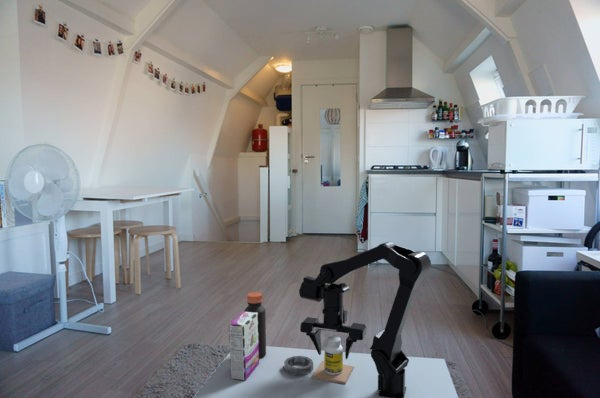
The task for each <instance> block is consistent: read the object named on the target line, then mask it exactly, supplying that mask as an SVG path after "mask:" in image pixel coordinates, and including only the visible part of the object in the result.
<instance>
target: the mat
mask: <svg viewBox="0 0 600 398" xmlns="http://www.w3.org/2000/svg"><path fill="white" fill-rule="evenodd" d="M354 369H355V366H353V365H350V364H344V363H343V371H342V373H340V374H338V375H331V374H328V373H326V372H325V368H324V361H323V360H322V361H321V362H320V364H319V365H318V366H317V368H316V369H315V370H314V371H313V373H312V375H311V379H315V380H322V381H327V382H333V383H338V384H344V385H346V384H347V382H348V380H349V378H350V376H351V374H352V372H353V371H354Z"/></svg>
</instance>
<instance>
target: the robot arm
mask: <svg viewBox="0 0 600 398" xmlns="http://www.w3.org/2000/svg"><path fill="white" fill-rule="evenodd" d="M382 260H384V261H386V262H387V263H388V264H389V265H391V266H392V267H393V268H395V269H397V270H398V280H399V281H398V283H399V284H398V288H397V290H396V294H395V297H394V299H393V302H392V306H391V309H390V312H389V314H388V317H387V321H386V323H385V328H383V329H381V330H380V331H379V332H378V333H377V334H375V335H374V336H373V339H372V345H371V346H370V347H369V350H371V351H370V357H371V358H372V361H373V362H374V365H375V368H376V371H377V374H378V375H377V390H378V396H379V397H383V398H405V395H406V392H407V386H406V369H405V368H406V367H407V366H408V364H409V363H410V360H409V358H408V357H407V356H406V354H405V353H404V352H403V350H402V345H403V340H402V332H403V329H404V327H405V325H406V320H407V317H408V314H409V311H410V309H411V306H412V304H413V300H414V297H415V294H416V291H417V288H418V287H419V285H421V282H423V280H424V278H425V277H426V276H427V273H428V272H429V270H430V269H431V266H432V260H431V259H430V257H429V255H427V253H425V252H424V251H420V250H419V251H418V250H417V251H415V250H413V249H411V248H407V247H404V246H401V245H398V244H396V243H393V242H391V241H385V242H382V243H380V244H378V245H377V246H375V247H372V248H370V249H368V250H366V251H364V252H361V253H358V254H355V255H354V256H351V257H349V258H342V259H341V258H340V259H337V260H333V261H331V262H327V263H325V264H322V265H321V266H320V270H319V274H318V275H317V277H316V278H315V277H312V276H304V277H303V280H302V282H301V284H300V286H299V287H300V288H299V290H298V291H299V297H300V298H301V299H302V300H303V299H304V300H306V301H307V300H308V301H312V302H317V303H320V302H321V301H322V303H323V304H322V305H323V308H322V310H321V311H322V312H321V313H322V314H323V317H322V319H323V321H322V322H320V320H319V318H318V317H309V316H307V317H306V318H305V319H304V320H303V321H302V322H301V323H300V326H299V327H300V329H299V330H300V333H303V334H304V333H305V334H306V336H308V337H309V338H310V340H311V342H312V344H313V345H314V348H315V350H316V351H317V354H318V356H321V355H322V340H321V339H322V337H321V334H322V333H321V332H322V331H328V332H336V333H344V334H347V337H346V339H345V354H344V355H345V360H348V358H349V355H350V353H351V349H352V347H353V344H354V343H357V342H358V341H363V340H364V339H365V337H366V335H367V331H368V330H367V329H368V328H367V325H366V324H365V323H357V322H352V324H351V325H350V326H349V325H344V324H346V322H347V321H348V314H349V313H348V310H345V307H344V294H345V293H346V292H348V291H350V290H351V288H350V287H349V286H348V285H347V284H346V282H343V281H342V282H340V283H336V282H339V281H341V280H342V279H344V278H346V277H348V276H349V275H350V274H351V273H353V272H355V271H356V270H358V269H360V268H361V269H362V268H363V267H366V266H368V265H371V264H373V263H376V262H378V261H382Z"/></svg>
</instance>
